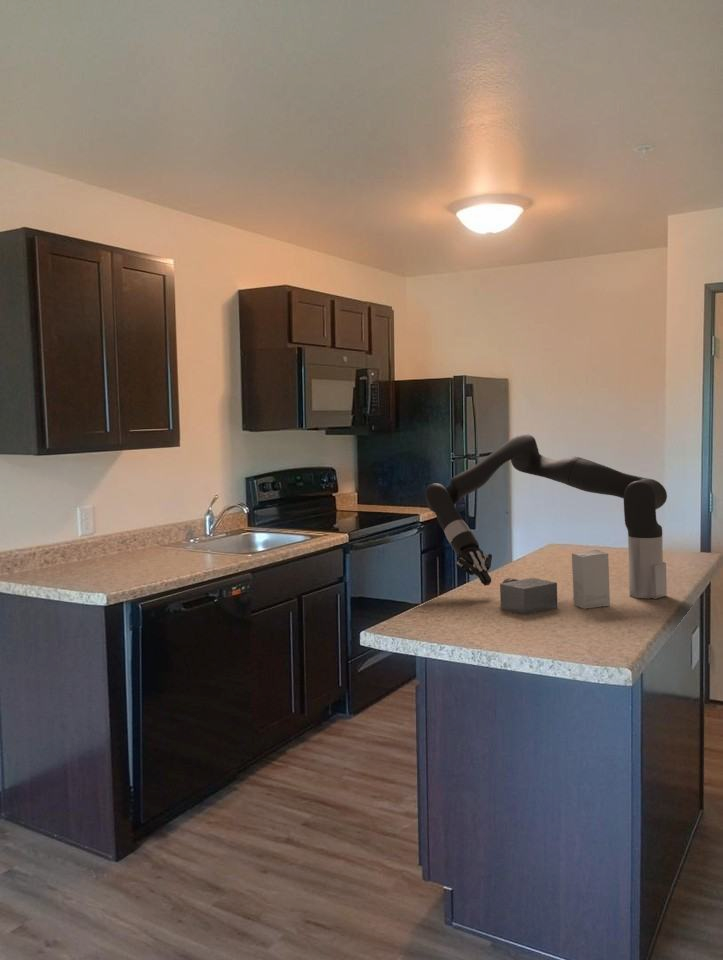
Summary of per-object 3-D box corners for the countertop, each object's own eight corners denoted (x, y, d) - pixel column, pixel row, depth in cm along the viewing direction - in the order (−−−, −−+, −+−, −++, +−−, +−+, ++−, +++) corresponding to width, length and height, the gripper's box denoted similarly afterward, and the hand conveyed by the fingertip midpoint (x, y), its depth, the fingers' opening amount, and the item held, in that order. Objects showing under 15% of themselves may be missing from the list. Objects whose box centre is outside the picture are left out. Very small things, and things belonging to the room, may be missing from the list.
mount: (500, 608, 216) (500, 583, 215) (533, 602, 222) (532, 577, 222) (524, 614, 208) (523, 588, 207) (557, 608, 214) (556, 582, 213)
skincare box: (599, 602, 219) (597, 549, 218) (611, 606, 213) (609, 552, 212) (572, 605, 216) (570, 552, 215) (583, 609, 211) (582, 555, 210)
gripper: (472, 543, 245) (499, 588, 235) (438, 548, 238) (464, 594, 228) (483, 528, 240) (511, 573, 230) (448, 532, 233) (475, 579, 223)
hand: (488, 583), depth 229 cm, fingers closed
